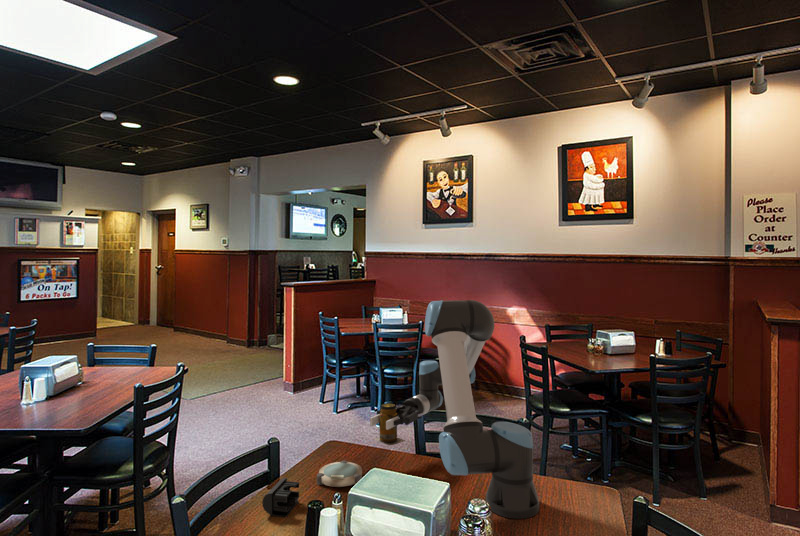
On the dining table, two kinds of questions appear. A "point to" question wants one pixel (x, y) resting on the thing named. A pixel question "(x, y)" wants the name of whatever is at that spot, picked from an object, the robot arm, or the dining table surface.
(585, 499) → the dining table surface
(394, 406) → the condiment
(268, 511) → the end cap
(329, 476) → the base
